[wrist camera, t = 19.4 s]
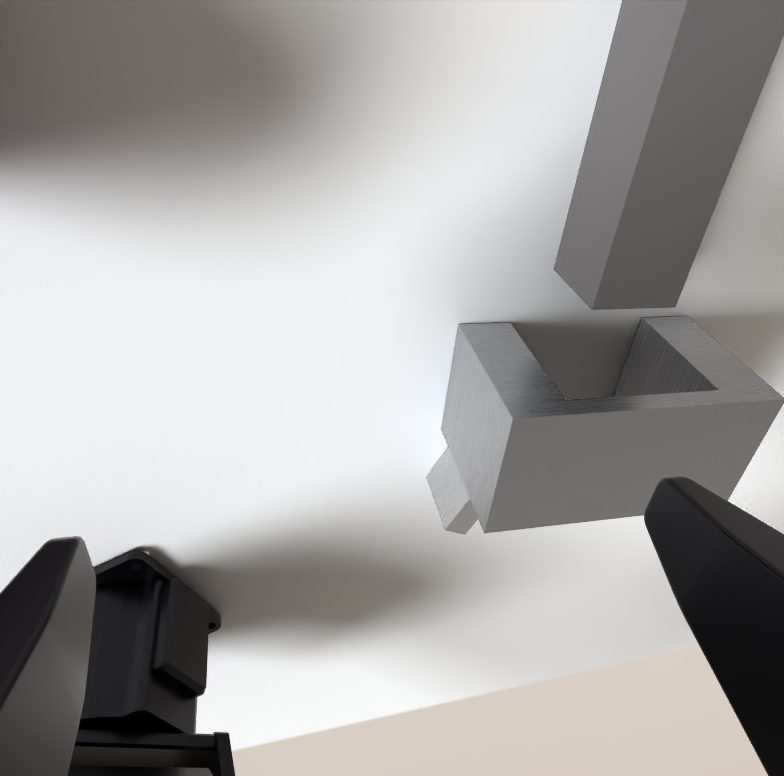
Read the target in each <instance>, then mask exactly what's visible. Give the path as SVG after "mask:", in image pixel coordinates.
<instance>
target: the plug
mask: <svg viewBox="0 0 784 776" xmlns="http://www.w3.org/2000/svg"><path fill="white" fill-rule="evenodd" d="M783 35H784V0H622V4H621V8H620V12H619V16H618V20H617V24H616V28H615V31H614V35H613V39H612V43H611V47H610V51H609V55H608V59H607V63H606V67H605V71H604V75H603V78H602V82H601V86H600V90H599V94H598V98H597V102H596V106H595V110H594V114H593V118H592V121H591V125H590V129H589V133H588V137H587V141H586V145H585V149H584V153H583V157H582V161H581V165H580V168H579V172H578V176H577V180H576V184H575V188H574V192H573V196H572V200H571V204H570V208H569V211H568V215H567V219H566V223H565V227H564V231H563V235H562V239H561V243H560V247H559V251H558V255H557V258H556V262H555V266H554V270H555V271H556V272H557V273H558V274H559V275H560V276H561V278H562V279H563V280H564V281H565V282H566V283H567V284H568V285H569V286H570V287H571V288H572V289H573V290H574V291H575V292H576V293H577V294H578V295H579V297H580V298H581V299H582V300H583V301H584V302H585V303H586V304H587V305H588V306H589V307H590V308H591V309H592V310H598V309H632V308H667V307H675V306H676V304H677V301H678V299H679V296H680V294H681V291H682V289H683V286H684V284H685V281H686V279H687V276H688V274H689V271H690V269H691V266H692V264H693V261H694V259H695V256H696V254H697V251H698V249H699V246H700V244H701V241H702V239H703V236H704V234H705V231H706V229H707V226H708V224H709V221H710V219H711V216H712V214H713V211H714V209H715V206H716V204H717V201H718V199H719V196H720V194H721V191H722V188H723V186H724V183H725V181H726V178H727V176H728V173H729V171H730V168H731V166H732V163H733V161H734V158H735V156H736V153H737V151H738V148H739V146H740V143H741V141H742V138H743V136H744V133H745V131H746V128H747V126H748V123H749V121H750V118H751V116H752V113H753V111H754V108H755V106H756V103H757V101H758V98H759V96H760V93H761V91H762V88H763V86H764V83H765V81H766V78H767V76H768V73H769V71H770V68H771V66H772V63H773V61H774V58H775V56H776V53H777V51H778V48H779V45H780V43H781V40H782V38H783Z"/></svg>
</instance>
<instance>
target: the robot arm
mask: <svg viewBox="0 0 784 776" xmlns="http://www.w3.org/2000/svg"><path fill="white" fill-rule="evenodd" d="M644 520H645V525H646V528H647V530H648V533H649V535H650V537H651V540H652V542H653V545H654V547H655V550H656V552H657V555H658V557H659V559H660V562H661V564H662V567H663V569H664V572H665V574H666V576H667V579H668V581H669V584H670V586H671V589H672V591H673V594H674V596H675V598H676V600H677V603H678V605H679V607H680V609H681V611H682V613H683V615H684V617H685V619H686V621H687V623H688V625H689V627H690V629H691V630H692V632H693V634H694V636H695V638H696V640H697V642H698V644H699V646H700V647H701V649H702V651H703V653H704V655H705V657H706V659H707V661H708V662H709V664H710V666H711V668H712V670H713V672H714V674H715V676H716V678H717V680H718V681H719V683H720V685H721V687H722V689H723V691H724V693H725V695H726V697H727V698H728V700H729V702H730V704H731V706H732V708H733V710H734V712H735V714H736V715H737V717H738V719H739V721H740V723H741V725H742V727H743V728H744V730H745V732H746V734H747V736H748V738H749V740H750V742H751V744H752V745H753V747H754V749H755V751H756V753H757V755H758V757H759V758H760V761H761V763H762V765H763V766H764V768H765V770H766V772H767V774H768V776H784V534H782V533H781V532H779V531H777V530H775V529H774V528H772V527H770V526H769V525H767V524H765V523H764V522H762V521H760V520H759V519H757V518H755V517H754V516H752V515H750V514H749V513H747V512H745V511H743V510H742V509H740V508H738V507H737V506H735V505H733V504H732V503H730V502H728V501H727V500H725V499H723V498H722V497H720V496H718V495H717V494H715V493H713V492H711V491H710V490H708V489H706V488H705V487H703V486H701V485H700V484H698V483H696V482H695V481H693V480H691V479H689V478H687V477H683V476H679V477H669V478H663V479H661V480H660V481H659V482H658V484H657V485H656V488H655V490H654V492H653V494H652V496H651V498H650V500H649V503H648V505H647V507H646V509H645V513H644ZM220 627H221V616H220V614H219V613H217V612H216V611H215V610H214V609H213V608H211V607H210V606H209V605H208V604H207V603H205V602H204V601H203V600H202V599H201V598H199V597H198V596H197V595H196V594H195V593H193V592H192V591H191V590H190V589H189V588H187V587H186V586H185V585H184V584H183V583H181V582H180V581H179V580H178V579H176V578H175V577H174V576H173V575H172V574H170V573H169V572H168V571H167V570H166V569H164V568H163V567H162V566H161V565H160V564H158V563H157V562H156V561H155V560H154V559H152V558H151V557H150V556H149V555H148V554H146V553H144V552H141V551H132V552H129V553H126V554H124V555H122V556H120V557H118V558H116V559H113V560H111V561H109V562H107V563H105V564H103V565H100V566H98V567H96V568H94V569H93V566H92V562H91V559H90V556H89V553H88V550H87V547H86V544H85V542H84V540H83V539H82V538H81V537H77V536H74V537H64V538H54V539H51V540H49V541H47V542H46V543H45V544H44V545H43V546H42V547H41V548H40V549H39V550H38V551H37V552H36V553H35V555H34V556H33V557H32V558H31V559H30V560H29V561H28V562H27V564H26V565H25V566H24V567H23V568H22V569H21V570H20V571H19V573H18V574H17V575H16V576H15V577H14V578H13V579H12V580H11V581H10V583H9V584H8V585H7V586H6V587H5V588H4V589H3V590H2V592H1V593H0V776H235V771H234V766H233V758H232V752H231V745H230V739H229V733H227V732H214V733H213V734H195V731H196V712H197V697H198V696H201V695H203V694H204V692H205V689H206V679H207V654H208V634H210V633H212V632H214V631H216V630H218V629H219V628H220Z"/></svg>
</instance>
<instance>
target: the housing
mask: <svg viewBox="0 0 784 776" xmlns="http://www.w3.org/2000/svg"><path fill="white" fill-rule="evenodd" d="M783 403H784V397H783V396H781V395H780V394H779V393H778V392H777V391H776V390H774V389H773V388H772V387H771V386H770V385H768V384H767V383H766V382H765V381H764V380H762V379H761V378H760V377H759V376H758V375H756V374H755V373H754V372H753V371H752V370H751V369H749V368H748V367H747V366H746V365H745V364H743V363H742V362H741V361H740V360H739V359H737V358H736V357H735V356H734V355H733V354H731V353H730V352H729V351H728V350H727V349H726V348H724V347H723V346H722V345H721V344H720V343H718V342H717V341H716V340H715V339H714V338H712V337H711V336H710V335H709V334H708V333H706V332H705V331H704V330H703V329H702V328H701V327H699V326H698V325H697V324H696V323H695V322H693V321H692V320H691V319H690V318H689V317H687V316H674V317H646V318H642V319H641V322H640V325H639V327H638V330H637V333H636V336H635V338H634V341H633V344H632V347H631V349H630V352H629V355H628V357H627V360H626V363H625V366H624V368H623V371H622V374H621V377H620V379H619V382H618V385H617V388H616V390H615V393H614V396H613V397H607V398H592V399H576V400H565V399H564V398H563V396H562V395H561V393H560V392H559V390H558V389H557V388H556V386H555V385H554V383H553V382H552V381H551V379H550V378H549V376H548V375H547V374H546V372H545V371H544V369H543V368H542V367H541V365H540V364H539V362H538V361H537V360H536V358H535V357H534V355H533V354H532V353H531V351H530V350H529V348H528V347H527V345H526V344H525V343H524V341H523V340H522V338H521V337H520V336H519V334H518V333H517V331H516V330H515V329H514V327H513V326H512V324H511V323H510V322H505V323H477V324H459V325H458V331H457V337H456V343H455V349H454V355H453V361H452V368H451V374H450V380H449V386H448V392H447V398H446V404H445V410H444V416H443V422H442V428H441V430H442V433H443V435H444V438H445V440H446V442H447V445H448V448H447V449H446V451H445V452H444V453H443V455H442V456H441V458H440V459H439V460H438V462H437V463H436V464H435V466H434V467H433V468H432V470H431V471H430V472H429V474H428V475H427V477H426V478H427V481H428V483H429V486H430V489H431V492H432V495H433V498H434V501H435V503H436V506H437V509H438V512H439V515H440V518H441V520H442V523H443V526H444V529H445V530H447V531H452V532H456V533H460V534H466V533H467V531H468V530H469V529H470V528H471V527H472V525H473V524H474V523H475V522H476V521H477V519H479V522H480V524H481V526H482V529H483V531H484V533H490V532H499V531H508V530H517V529H526V528H534V527H543V526H552V525H561V524H570V523H579V522H588V521H597V520H605V519H614V518H623V517H632V516H641V515H644V513H645V509H646V507H647V505H648V503H649V500H650V498H651V496H652V494H653V492H654V490H655V488H656V485H657V484H658V482H659V481H660V480H661V479H663V478H669V477H679V476H683V477H687V478H689V479H691V480H693V481H695V482H696V483H698V484H700V485H701V486H703V487H705V488H706V489H708V490H710V491H711V492H713V493H715V494H717V495H718V496H720V497H722V498H723V499H725V500H727V501H728V499H729V497H730V496H731V494H732V492H733V490H734V489H735V487H736V485H737V483H738V482H739V480H740V478H741V476H742V475H743V473H744V471H745V470H746V468H747V466H748V464H749V463H750V461H751V459H752V457H753V456H754V454H755V452H756V450H757V449H758V447H759V445H760V443H761V442H762V440H763V438H764V436H765V435H766V433H767V431H768V430H769V428H770V426H771V424H772V423H773V421H774V419H775V417H776V416H777V414H778V412H779V410H780V409H781V407H782V405H783Z"/></svg>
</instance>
